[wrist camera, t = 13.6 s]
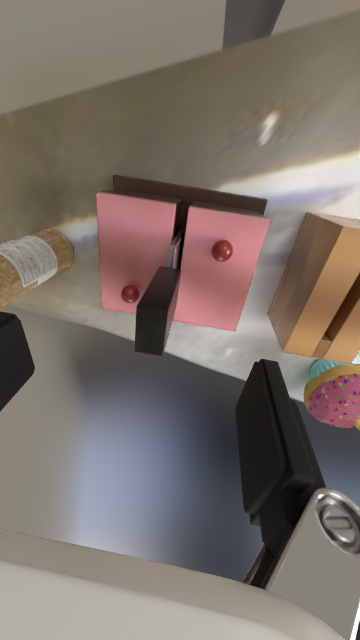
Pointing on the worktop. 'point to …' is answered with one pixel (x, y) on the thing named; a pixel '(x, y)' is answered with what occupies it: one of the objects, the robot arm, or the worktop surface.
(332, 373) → the cupcake
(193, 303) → the pink double-door cabinet
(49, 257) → the sprinkles bottle
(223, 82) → the worktop surface
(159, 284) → the knife
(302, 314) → the knife block
